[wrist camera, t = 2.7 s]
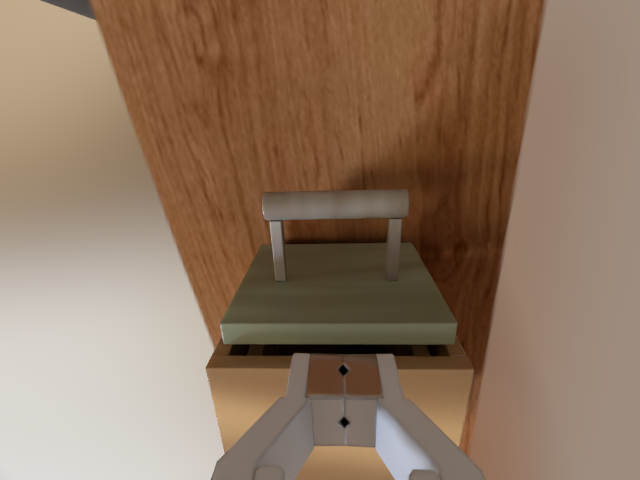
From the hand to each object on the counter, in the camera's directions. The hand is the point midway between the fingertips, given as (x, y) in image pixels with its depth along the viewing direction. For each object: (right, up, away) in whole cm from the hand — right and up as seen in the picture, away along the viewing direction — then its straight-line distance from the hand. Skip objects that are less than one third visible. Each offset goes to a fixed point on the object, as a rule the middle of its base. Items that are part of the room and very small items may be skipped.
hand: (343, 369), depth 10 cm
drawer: (+1, 0, +14) cm, 14 cm away
